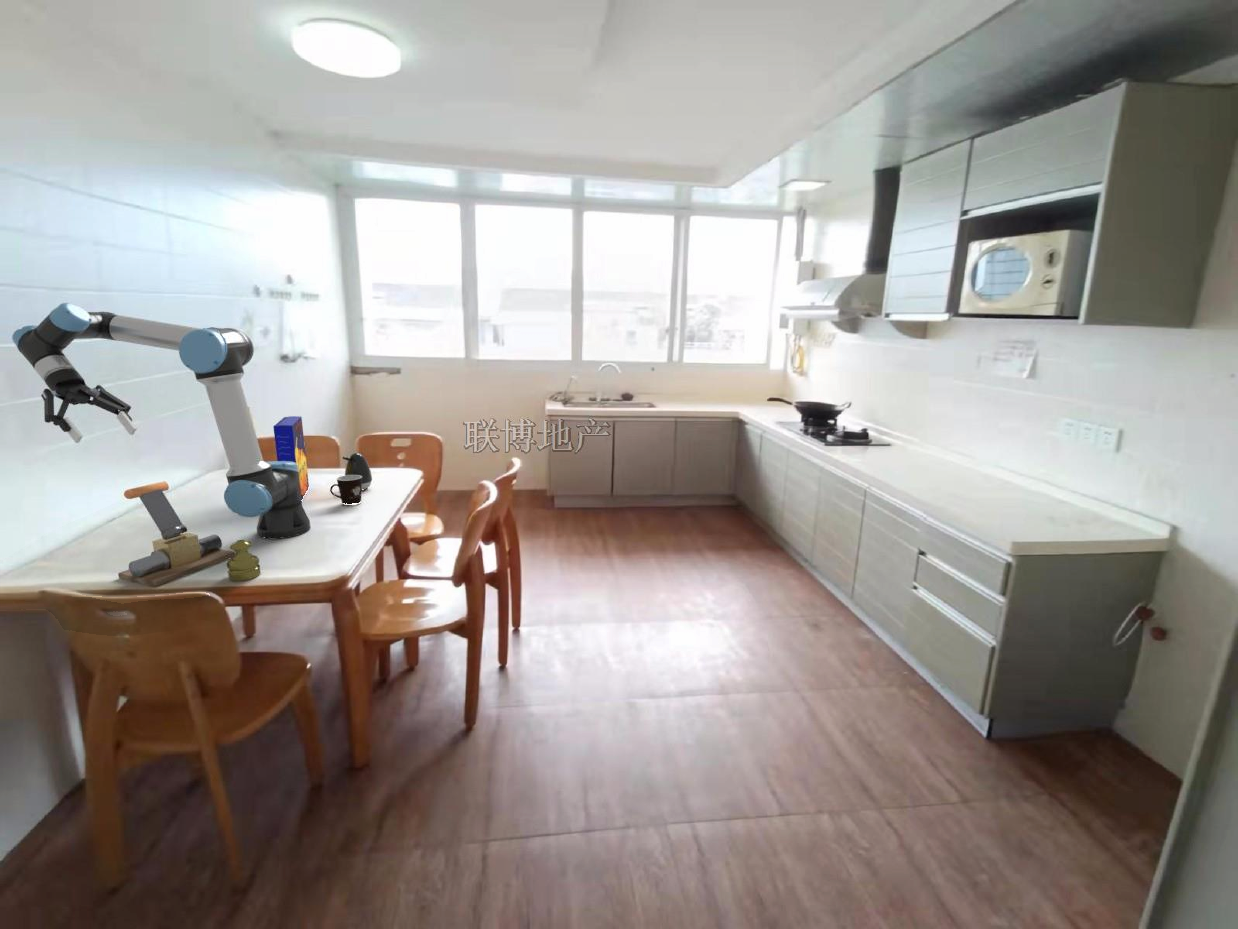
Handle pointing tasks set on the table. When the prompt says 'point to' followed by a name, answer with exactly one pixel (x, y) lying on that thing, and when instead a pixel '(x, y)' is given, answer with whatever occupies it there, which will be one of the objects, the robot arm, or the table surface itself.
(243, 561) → the gold pawn figurine
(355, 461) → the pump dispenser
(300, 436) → the cereal box
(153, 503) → the valve lever
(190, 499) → the table surface
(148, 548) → the table surface
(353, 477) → the coffee mug
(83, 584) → the table surface
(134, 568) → the pipe valve
